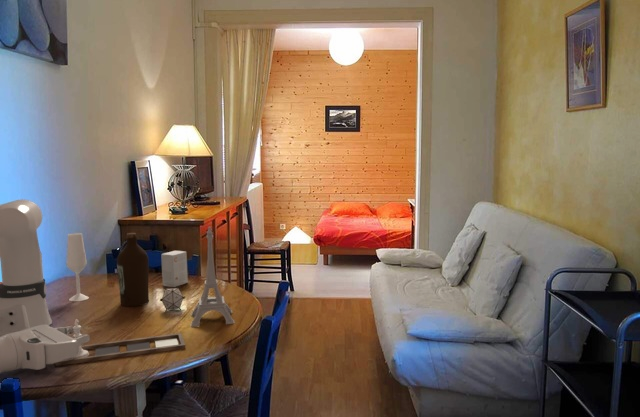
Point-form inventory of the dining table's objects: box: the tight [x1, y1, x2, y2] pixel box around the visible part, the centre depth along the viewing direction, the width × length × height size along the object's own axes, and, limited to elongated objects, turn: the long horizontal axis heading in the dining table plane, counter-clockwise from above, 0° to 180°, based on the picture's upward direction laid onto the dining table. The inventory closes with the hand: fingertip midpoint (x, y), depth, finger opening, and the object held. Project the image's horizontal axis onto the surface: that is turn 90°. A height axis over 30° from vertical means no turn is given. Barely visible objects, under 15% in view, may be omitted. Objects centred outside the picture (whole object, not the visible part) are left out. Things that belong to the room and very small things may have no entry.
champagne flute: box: [66, 232, 90, 302], centre depth 191 cm, size 7×7×24 cm
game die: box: [159, 285, 186, 313], centre depth 178 cm, size 9×8×10 cm
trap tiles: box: [94, 342, 151, 356], centre depth 143 cm, size 14×7×1 cm, turn 111°
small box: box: [160, 250, 189, 288], centre depth 212 cm, size 8×6×13 cm
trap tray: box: [54, 332, 186, 367], centre depth 143 cm, size 32×10×1 cm, turn 111°
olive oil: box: [116, 232, 150, 307], centre depth 186 cm, size 11×11×25 cm
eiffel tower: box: [190, 226, 235, 328], centre depth 168 cm, size 13×13×30 cm
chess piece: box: [69, 318, 90, 359], centre depth 139 cm, size 5×5×10 cm
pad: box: [154, 338, 179, 348], centre depth 147 cm, size 6×7×1 cm
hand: (80, 333), depth 139 cm, fingers open, 8 cm apart
